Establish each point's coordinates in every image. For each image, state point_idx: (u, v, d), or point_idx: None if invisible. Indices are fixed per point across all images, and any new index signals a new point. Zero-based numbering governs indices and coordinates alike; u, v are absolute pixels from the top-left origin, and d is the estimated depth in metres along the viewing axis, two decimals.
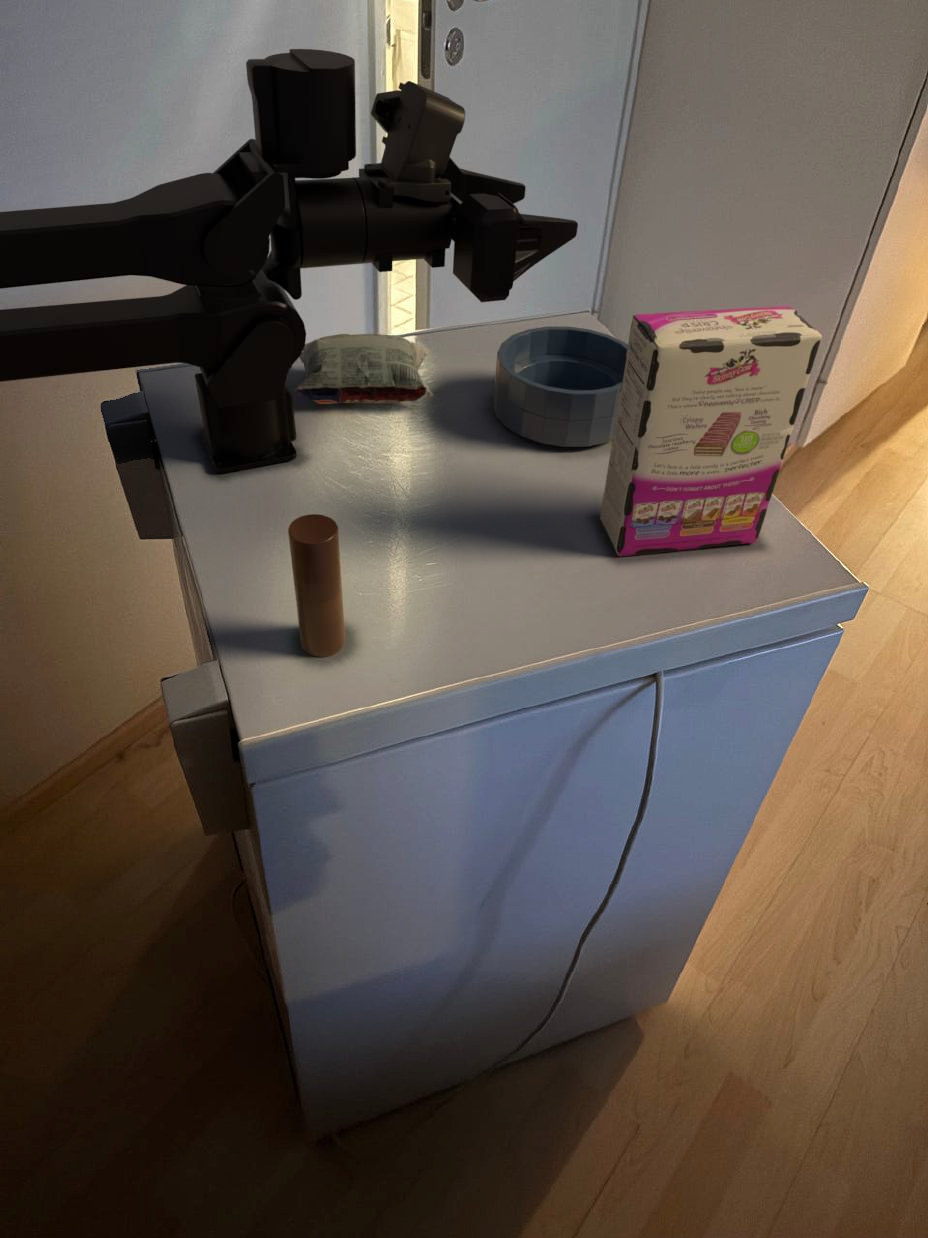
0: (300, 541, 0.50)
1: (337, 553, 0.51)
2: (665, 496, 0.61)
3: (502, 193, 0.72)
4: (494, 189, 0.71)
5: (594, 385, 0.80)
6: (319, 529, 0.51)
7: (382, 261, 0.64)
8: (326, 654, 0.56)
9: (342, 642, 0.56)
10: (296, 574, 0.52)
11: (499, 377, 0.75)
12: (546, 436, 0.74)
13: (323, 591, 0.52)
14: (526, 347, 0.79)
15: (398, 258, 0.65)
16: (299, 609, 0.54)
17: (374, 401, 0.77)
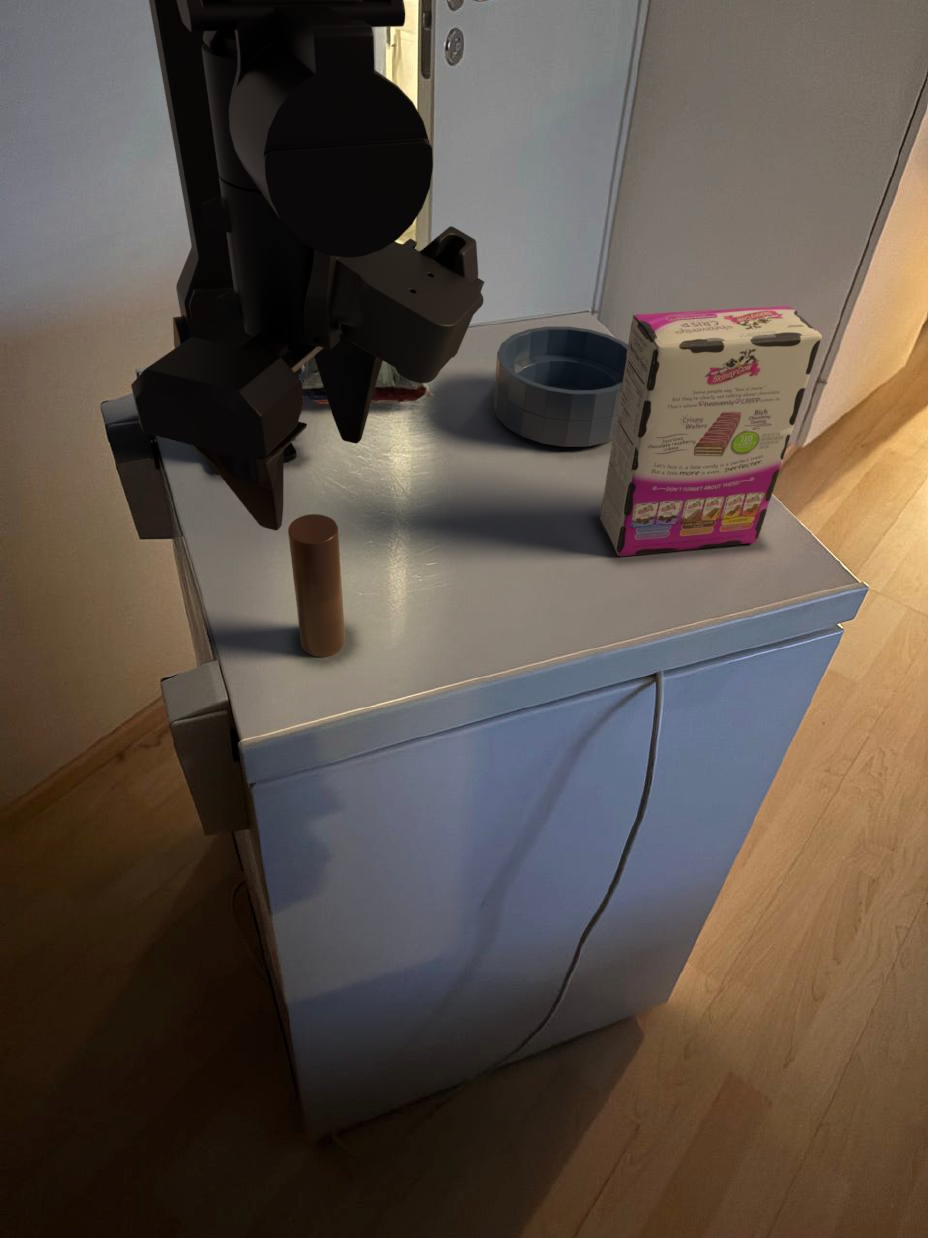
0: (300, 541, 0.50)
1: (337, 553, 0.51)
2: (665, 496, 0.61)
3: (348, 410, 0.50)
4: (353, 400, 0.50)
5: (594, 385, 0.80)
6: (319, 529, 0.51)
7: (217, 212, 0.38)
8: (326, 654, 0.56)
9: (342, 642, 0.56)
10: (296, 574, 0.52)
11: (499, 377, 0.75)
12: (546, 436, 0.74)
13: (323, 591, 0.52)
14: (526, 347, 0.79)
15: (227, 241, 0.39)
16: (299, 609, 0.54)
17: (374, 401, 0.77)
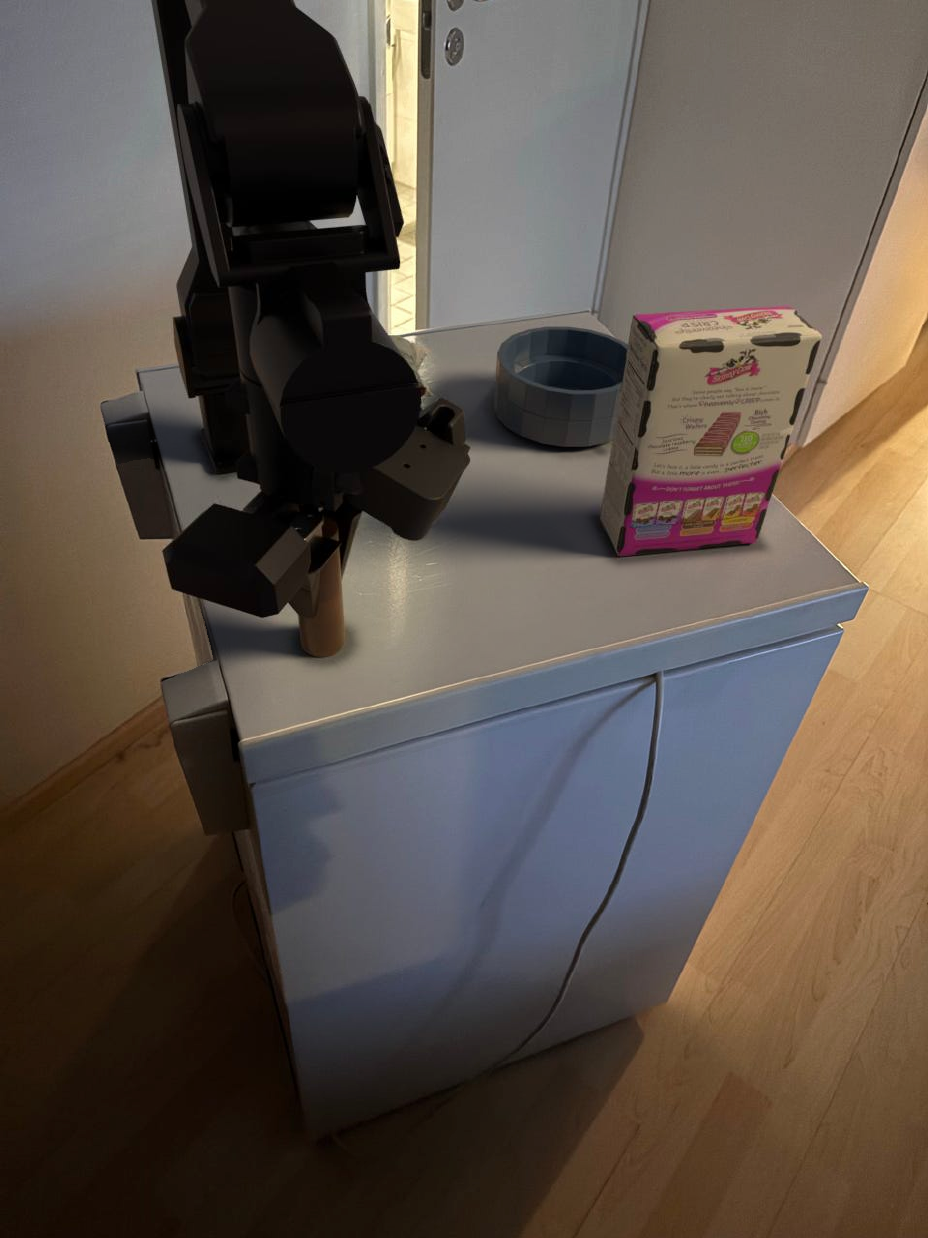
0: None
1: (337, 553, 0.51)
2: (664, 496, 0.61)
3: None
4: None
5: (594, 385, 0.80)
6: None
7: (237, 398, 0.43)
8: (326, 654, 0.56)
9: (342, 642, 0.56)
10: None
11: (499, 377, 0.75)
12: (546, 436, 0.74)
13: (324, 591, 0.52)
14: (526, 347, 0.79)
15: (246, 417, 0.45)
16: None
17: None
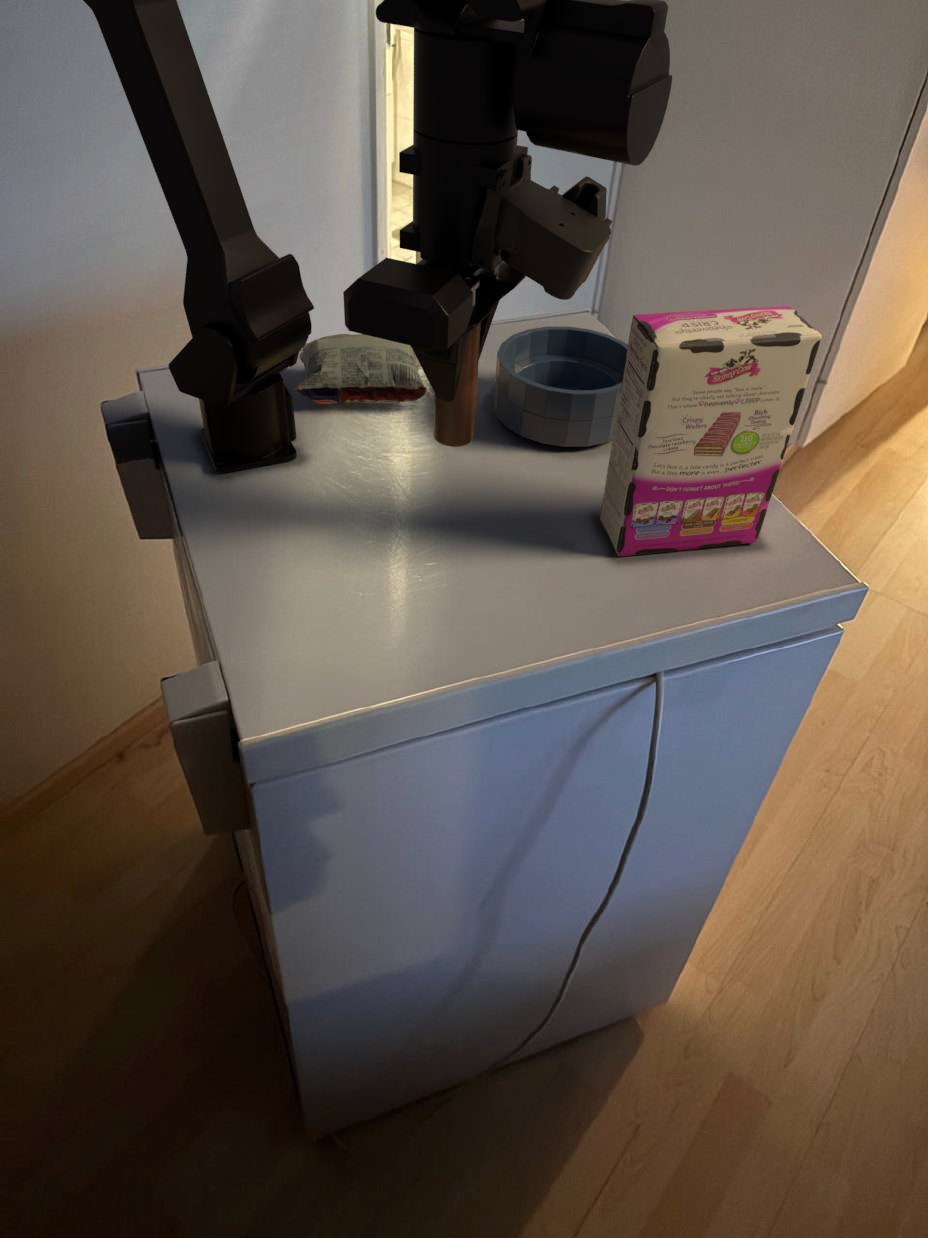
0: None
1: (479, 336, 0.56)
2: (664, 496, 0.61)
3: None
4: None
5: (594, 385, 0.80)
6: None
7: (411, 159, 0.48)
8: (458, 444, 0.60)
9: (472, 434, 0.61)
10: None
11: (499, 377, 0.75)
12: (546, 436, 0.74)
13: (464, 373, 0.57)
14: (526, 347, 0.79)
15: (414, 183, 0.50)
16: None
17: (374, 401, 0.77)
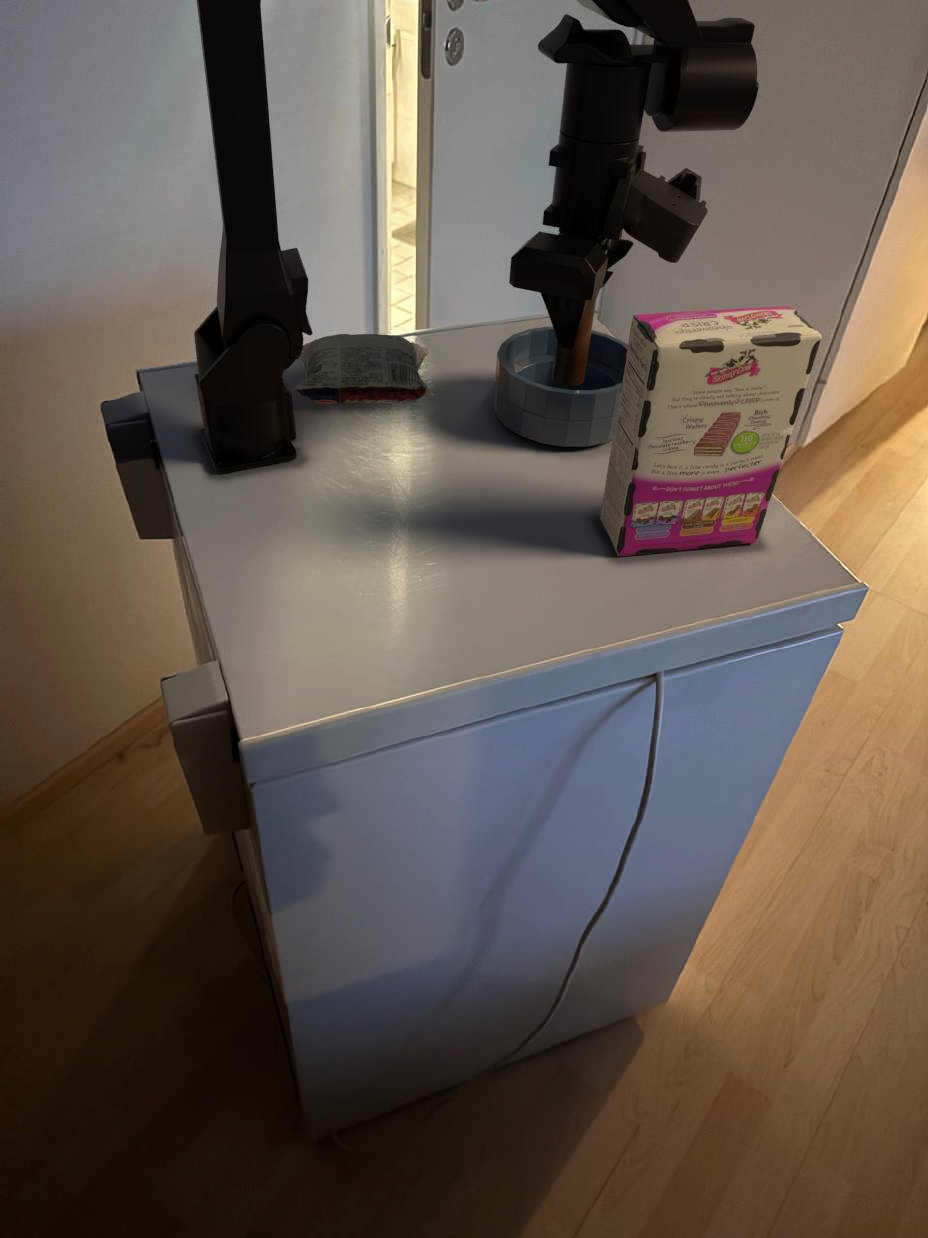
0: None
1: (596, 295, 0.71)
2: (665, 496, 0.61)
3: None
4: None
5: (594, 385, 0.80)
6: None
7: (559, 155, 0.63)
8: (574, 384, 0.75)
9: (584, 376, 0.76)
10: None
11: (499, 377, 0.75)
12: (546, 436, 0.74)
13: (584, 324, 0.72)
14: (526, 347, 0.79)
15: (558, 174, 0.65)
16: None
17: (374, 401, 0.77)
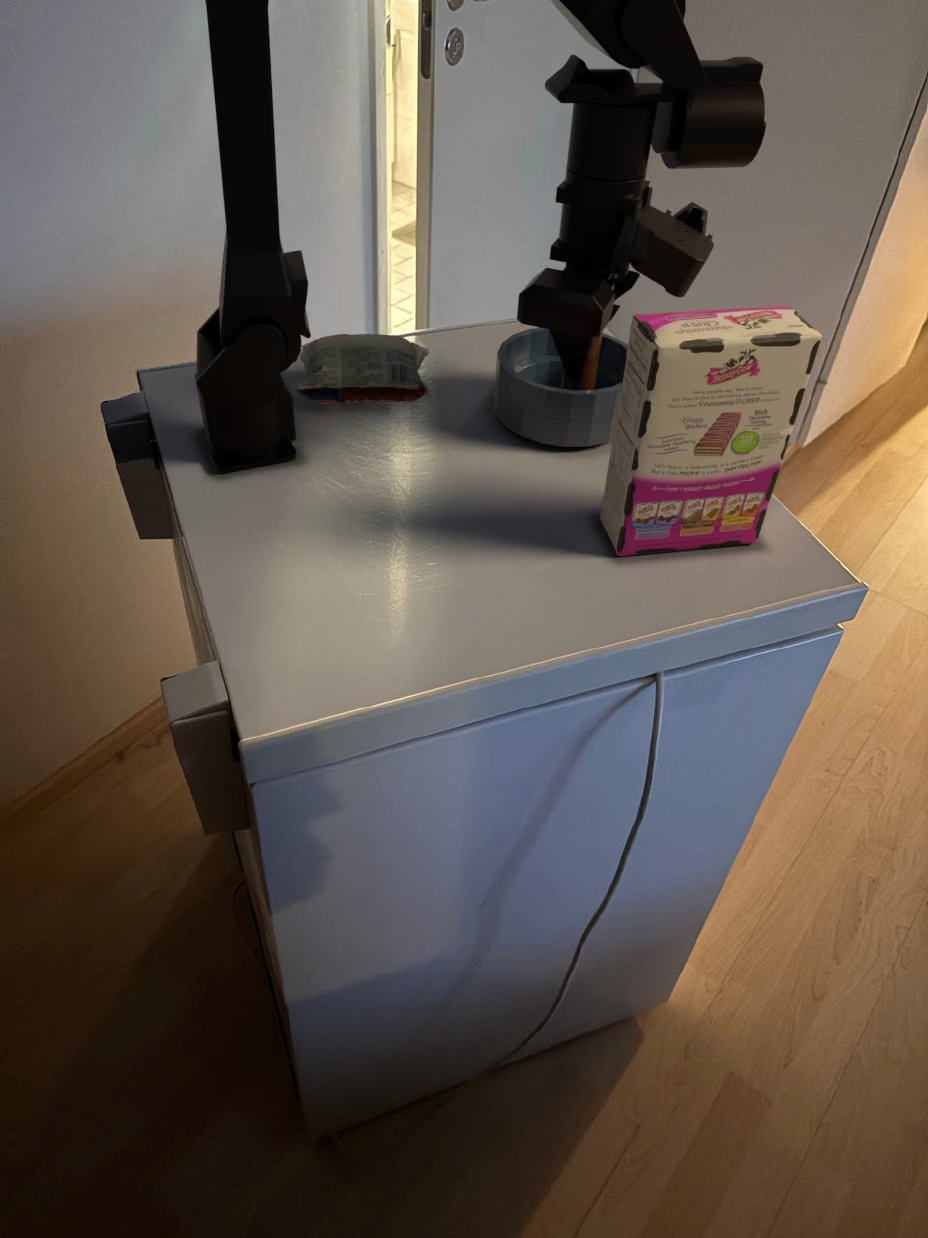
0: None
1: None
2: (665, 496, 0.61)
3: None
4: None
5: None
6: None
7: (566, 192, 0.64)
8: None
9: None
10: None
11: (499, 377, 0.75)
12: (546, 436, 0.74)
13: (591, 356, 0.72)
14: (526, 347, 0.79)
15: (565, 210, 0.65)
16: None
17: (374, 401, 0.77)
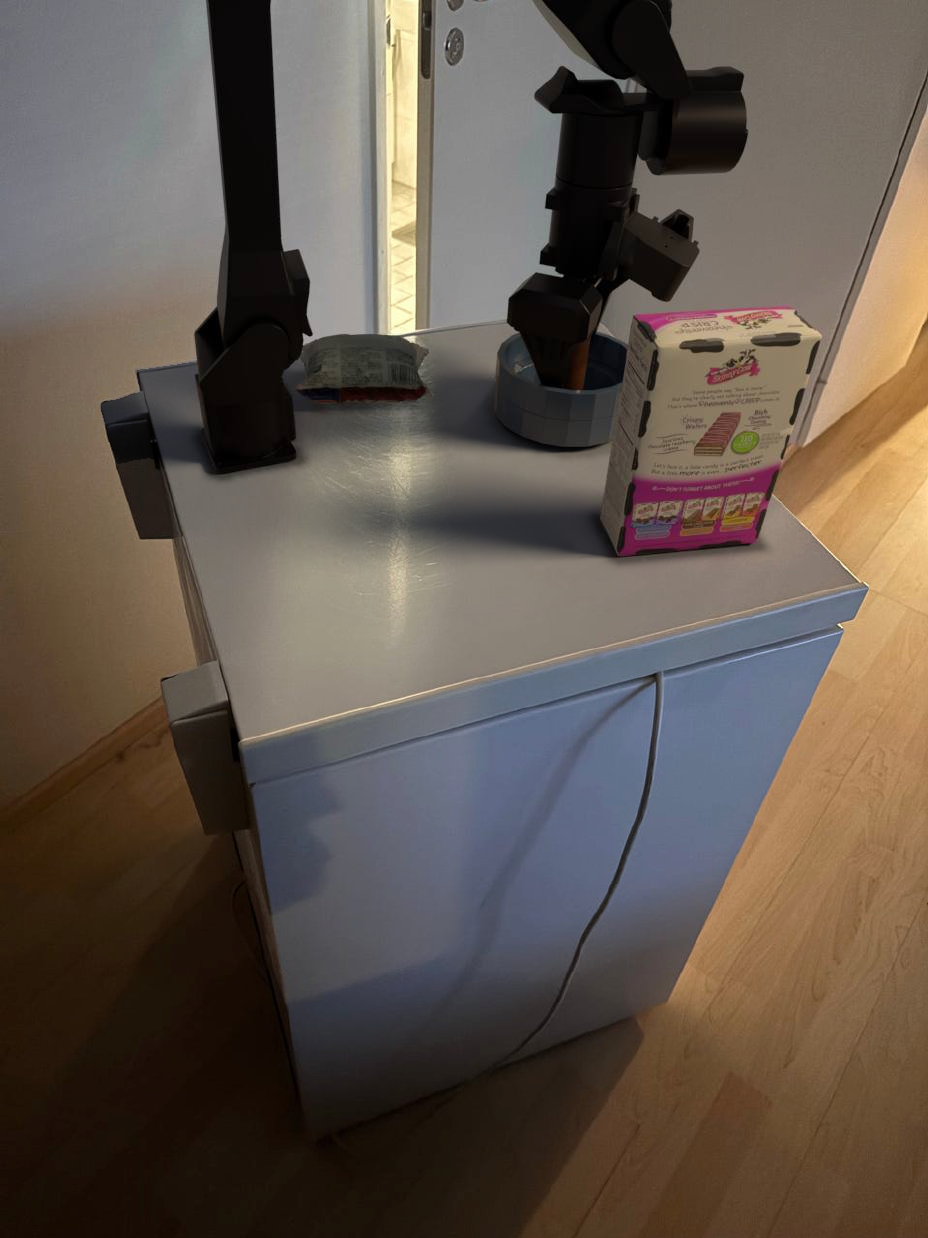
0: None
1: None
2: (665, 496, 0.61)
3: None
4: None
5: (594, 385, 0.80)
6: None
7: (555, 199, 0.65)
8: None
9: None
10: None
11: (499, 377, 0.75)
12: (546, 436, 0.74)
13: (579, 359, 0.74)
14: None
15: (554, 216, 0.67)
16: None
17: (374, 401, 0.77)
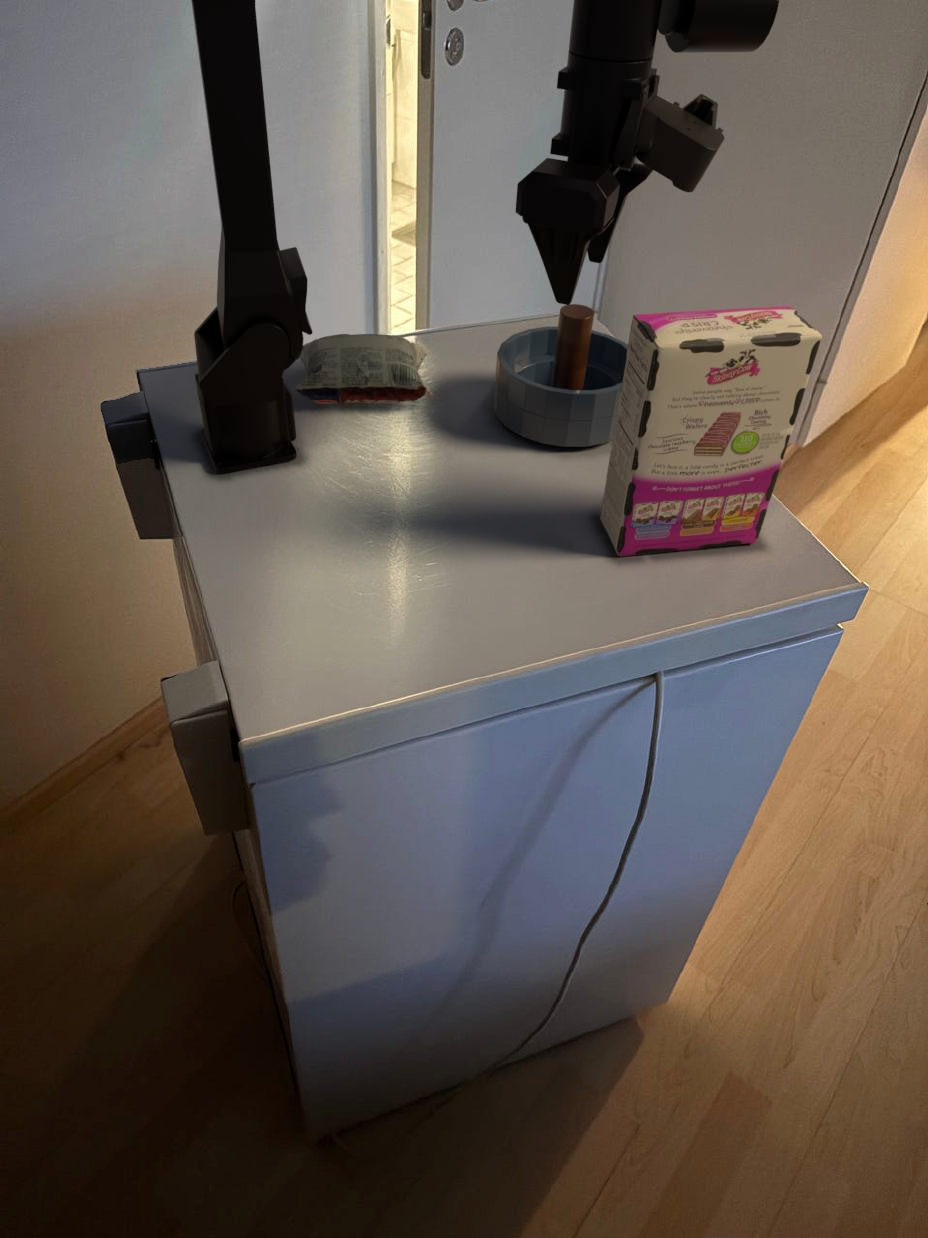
0: (572, 317, 0.71)
1: (591, 330, 0.73)
2: (665, 496, 0.61)
3: (598, 237, 0.72)
4: None
5: (594, 385, 0.80)
6: (581, 311, 0.72)
7: (568, 76, 0.60)
8: None
9: None
10: (561, 346, 0.73)
11: (499, 377, 0.75)
12: (546, 436, 0.74)
13: (579, 359, 0.74)
14: (526, 347, 0.79)
15: (567, 98, 0.61)
16: (556, 377, 0.75)
17: (374, 401, 0.77)
